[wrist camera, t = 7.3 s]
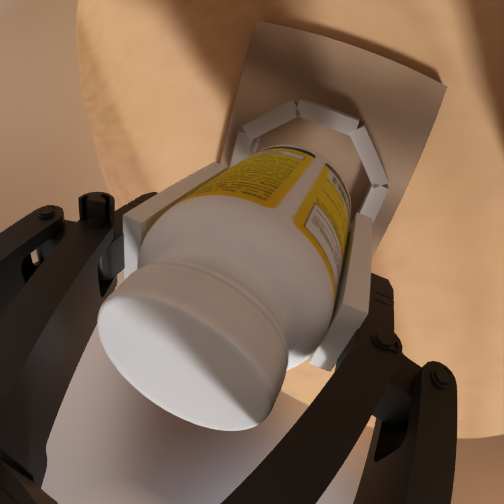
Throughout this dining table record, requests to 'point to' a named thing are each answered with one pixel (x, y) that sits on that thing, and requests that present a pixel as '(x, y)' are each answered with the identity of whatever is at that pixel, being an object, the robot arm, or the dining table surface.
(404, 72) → the collar base
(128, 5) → the dining table surface
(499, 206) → the dining table surface
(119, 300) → the pill bottle
